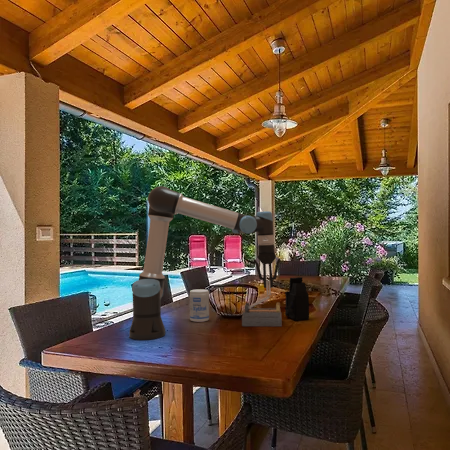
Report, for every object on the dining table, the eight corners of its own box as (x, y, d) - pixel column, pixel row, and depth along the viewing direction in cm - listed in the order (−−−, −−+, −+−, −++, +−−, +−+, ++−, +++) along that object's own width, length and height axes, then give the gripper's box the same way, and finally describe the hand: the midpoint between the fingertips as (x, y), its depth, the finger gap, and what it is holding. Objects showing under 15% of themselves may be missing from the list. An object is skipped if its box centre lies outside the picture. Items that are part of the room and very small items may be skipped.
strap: (246, 310, 198) (245, 308, 198) (246, 309, 201) (245, 307, 201) (275, 295, 196) (274, 293, 196) (275, 294, 200) (274, 291, 200)
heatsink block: (242, 326, 194) (241, 306, 194) (244, 320, 206) (243, 301, 206) (281, 326, 191) (281, 306, 191) (281, 320, 203) (281, 301, 203)
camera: (298, 314, 216) (297, 275, 216) (311, 319, 203) (310, 278, 204) (280, 316, 213) (279, 276, 213) (293, 321, 200) (292, 279, 200)
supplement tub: (193, 323, 202) (192, 292, 202) (187, 319, 211) (186, 290, 211) (212, 321, 206) (211, 290, 206) (205, 317, 215) (204, 288, 215)
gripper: (251, 245, 195) (254, 296, 195) (280, 244, 194) (283, 295, 194) (252, 244, 203) (254, 293, 203) (280, 243, 201) (283, 292, 201)
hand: (268, 294), depth 198 cm, fingers closed
